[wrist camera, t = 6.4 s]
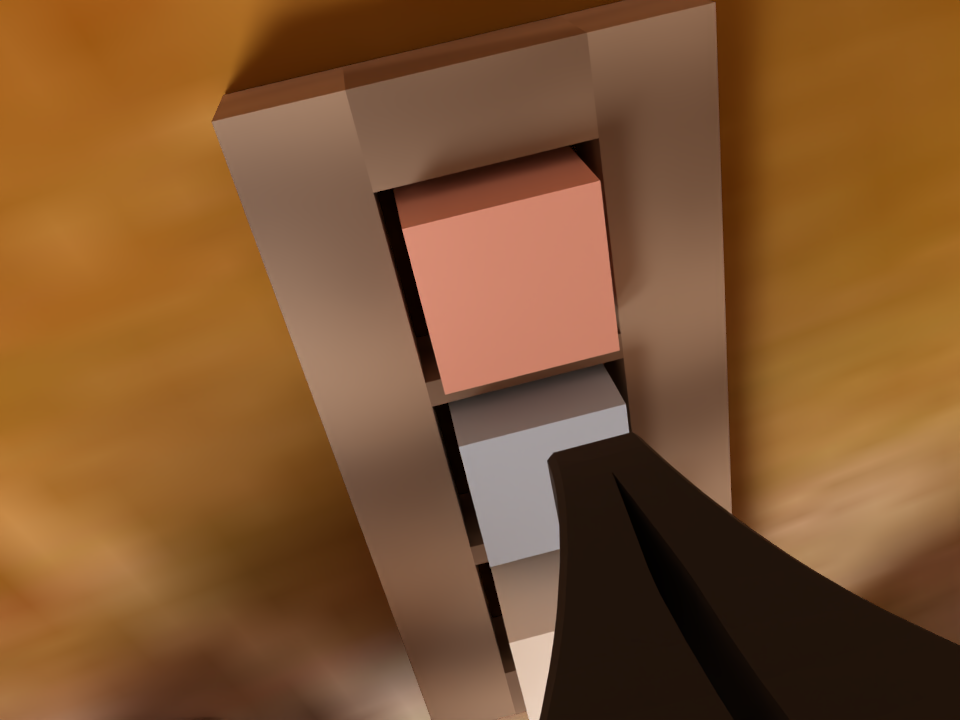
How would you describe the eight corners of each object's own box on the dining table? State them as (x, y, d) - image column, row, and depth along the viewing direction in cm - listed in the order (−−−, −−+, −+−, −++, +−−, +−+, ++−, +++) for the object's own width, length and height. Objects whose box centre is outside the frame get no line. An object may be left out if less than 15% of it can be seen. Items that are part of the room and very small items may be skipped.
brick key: (583, 291, 21) (619, 350, 18) (429, 330, 21) (445, 394, 18) (562, 138, 19) (600, 180, 16) (391, 179, 18) (402, 228, 16)
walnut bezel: (708, 603, 28) (736, 654, 27) (429, 678, 28) (437, 735, 26) (674, -12, 18) (715, 2, 16) (223, 95, 17) (211, 122, 16)
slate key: (605, 457, 24) (640, 527, 21) (471, 491, 23) (489, 567, 21) (589, 341, 22) (626, 403, 19) (442, 378, 21) (458, 446, 19)
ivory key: (635, 615, 26) (670, 697, 23) (512, 648, 25) (533, 735, 23) (624, 523, 23) (660, 602, 21) (488, 558, 23) (509, 643, 21)
